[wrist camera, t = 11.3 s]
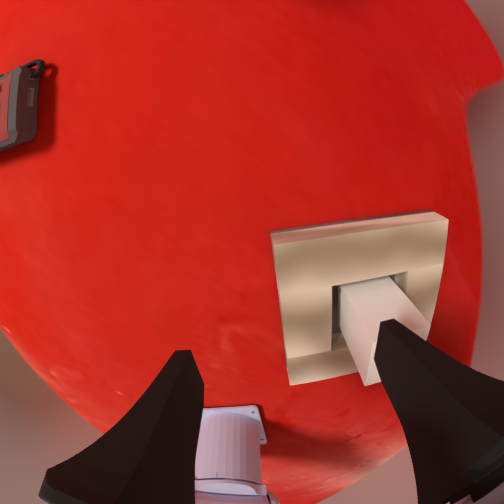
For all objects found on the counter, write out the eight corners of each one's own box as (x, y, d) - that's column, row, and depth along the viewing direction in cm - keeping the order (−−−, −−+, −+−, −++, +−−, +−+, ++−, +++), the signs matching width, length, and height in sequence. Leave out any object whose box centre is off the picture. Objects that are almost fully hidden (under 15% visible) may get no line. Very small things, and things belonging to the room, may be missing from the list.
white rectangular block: (381, 313, 21) (417, 369, 15) (337, 322, 21) (364, 386, 15) (385, 272, 20) (430, 325, 13) (338, 281, 20) (372, 342, 13)
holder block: (411, 336, 23) (422, 352, 21) (286, 365, 24) (289, 385, 22) (430, 210, 18) (448, 219, 16) (270, 231, 19) (273, 245, 16)
